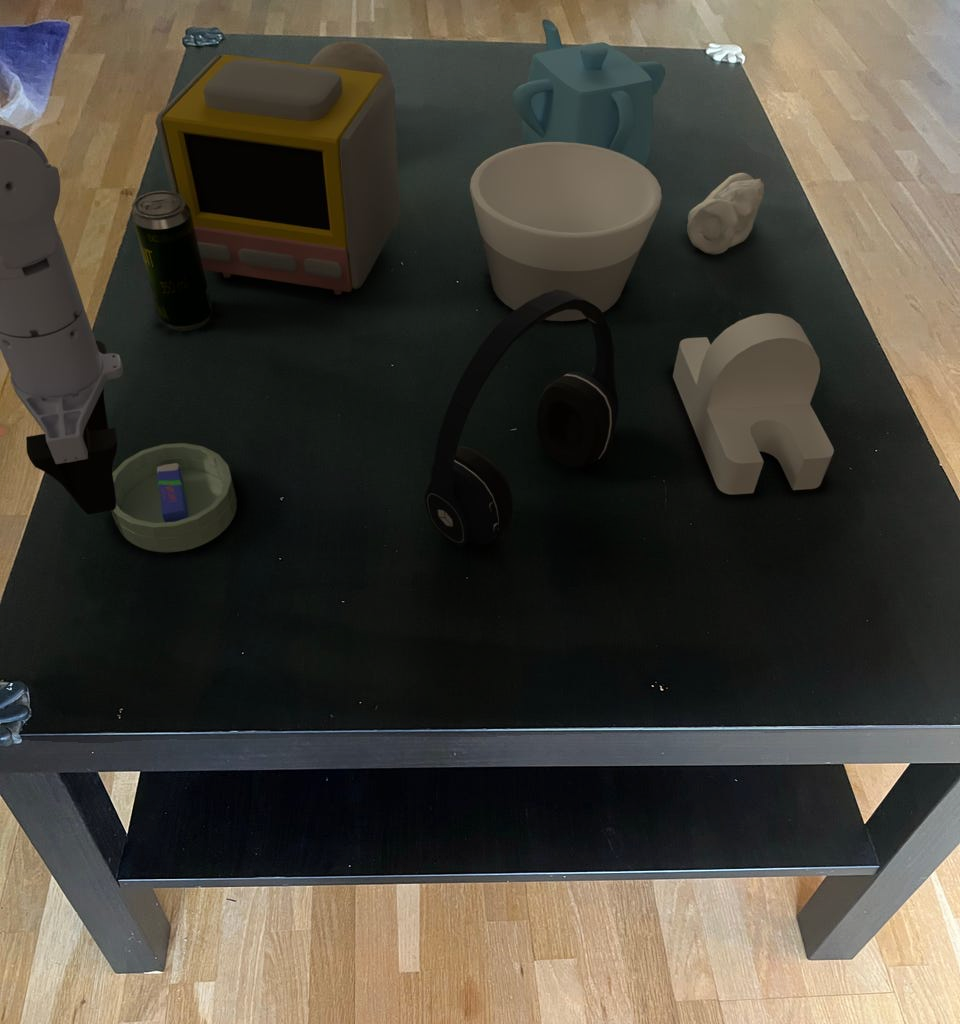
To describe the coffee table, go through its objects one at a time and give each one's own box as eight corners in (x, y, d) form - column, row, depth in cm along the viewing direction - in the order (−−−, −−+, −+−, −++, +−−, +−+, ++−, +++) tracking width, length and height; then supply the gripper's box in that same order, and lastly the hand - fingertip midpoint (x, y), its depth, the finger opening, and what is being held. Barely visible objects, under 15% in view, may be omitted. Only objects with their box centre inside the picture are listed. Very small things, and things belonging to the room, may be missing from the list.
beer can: (204, 297, 101) (178, 184, 91) (220, 324, 98) (195, 211, 88) (154, 310, 99) (122, 196, 90) (168, 338, 96) (137, 224, 87)
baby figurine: (733, 204, 116) (786, 159, 109) (733, 289, 113) (788, 249, 105) (677, 175, 112) (728, 126, 105) (676, 262, 109) (729, 218, 102)
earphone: (472, 574, 78) (477, 389, 63) (413, 531, 80) (404, 344, 66) (624, 457, 87) (658, 271, 72) (565, 422, 90) (587, 237, 75)
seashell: (388, 174, 132) (344, 56, 127) (441, 141, 121) (394, 10, 115) (296, 206, 125) (245, 84, 120) (343, 174, 114) (289, 37, 109)
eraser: (184, 479, 83) (179, 461, 81) (190, 527, 79) (185, 509, 78) (161, 482, 83) (155, 465, 81) (166, 531, 79) (160, 513, 78)
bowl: (524, 220, 112) (530, 124, 104) (674, 270, 106) (693, 174, 98) (433, 297, 102) (432, 198, 93) (594, 358, 96) (608, 258, 87)
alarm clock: (185, 284, 102) (141, 101, 88) (241, 211, 112) (209, 35, 97) (362, 312, 100) (347, 128, 85) (403, 234, 109) (396, 58, 95)
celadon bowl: (121, 563, 77) (110, 538, 75) (112, 481, 83) (102, 454, 81) (245, 539, 79) (238, 513, 77) (228, 460, 85) (221, 433, 83)
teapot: (666, 153, 123) (687, 37, 112) (620, 210, 114) (638, 89, 103) (537, 122, 128) (545, 7, 117) (483, 174, 118) (486, 55, 108)
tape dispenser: (720, 495, 84) (750, 395, 76) (670, 370, 95) (691, 269, 86) (825, 487, 85) (866, 387, 76) (763, 364, 96) (793, 264, 87)
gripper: (109, 369, 57) (162, 530, 68) (94, 244, 66) (144, 405, 76) (-16, 388, 56) (58, 550, 66) (-15, 258, 64) (51, 420, 75)
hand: (97, 474), depth 71 cm, fingers open, 7 cm apart
